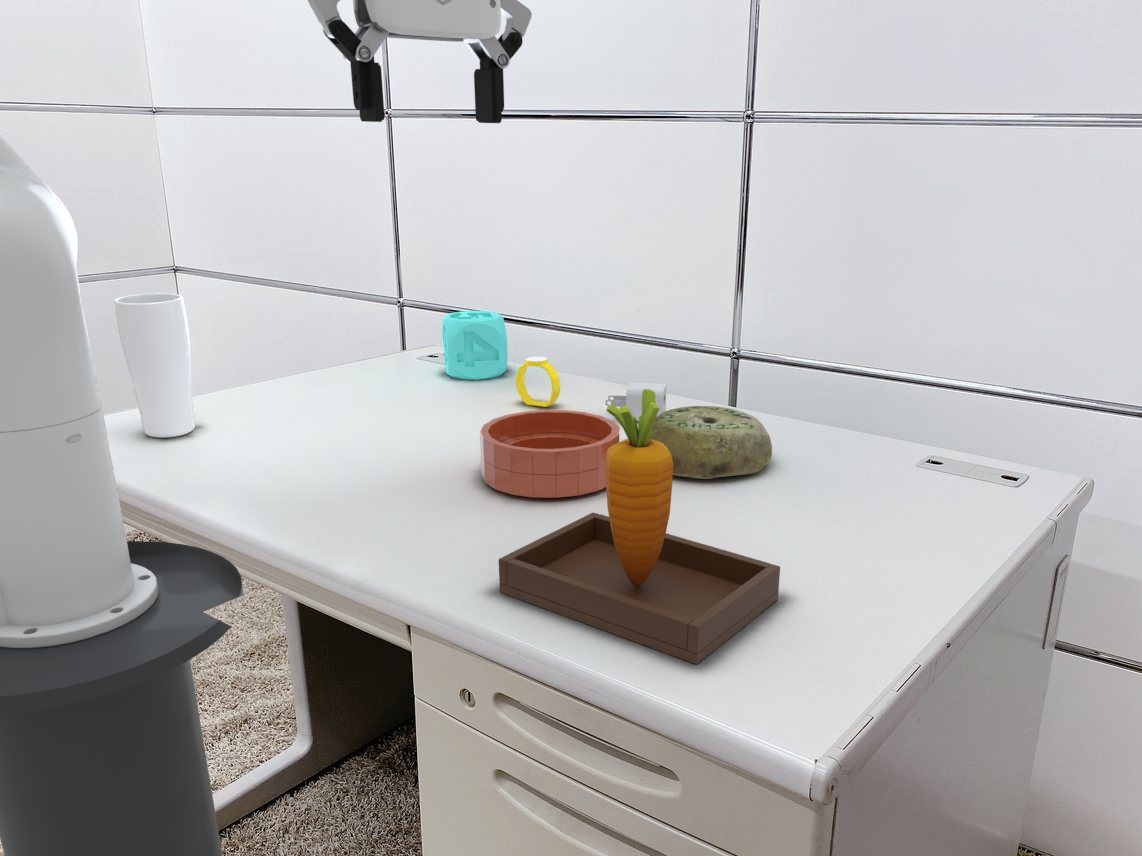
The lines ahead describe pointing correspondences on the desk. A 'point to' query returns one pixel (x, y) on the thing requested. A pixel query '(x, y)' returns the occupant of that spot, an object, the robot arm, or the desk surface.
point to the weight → (712, 441)
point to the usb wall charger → (640, 398)
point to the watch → (551, 373)
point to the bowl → (547, 452)
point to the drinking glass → (158, 360)
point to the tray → (642, 588)
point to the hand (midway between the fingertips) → (432, 122)
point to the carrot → (638, 490)
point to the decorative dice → (474, 345)
